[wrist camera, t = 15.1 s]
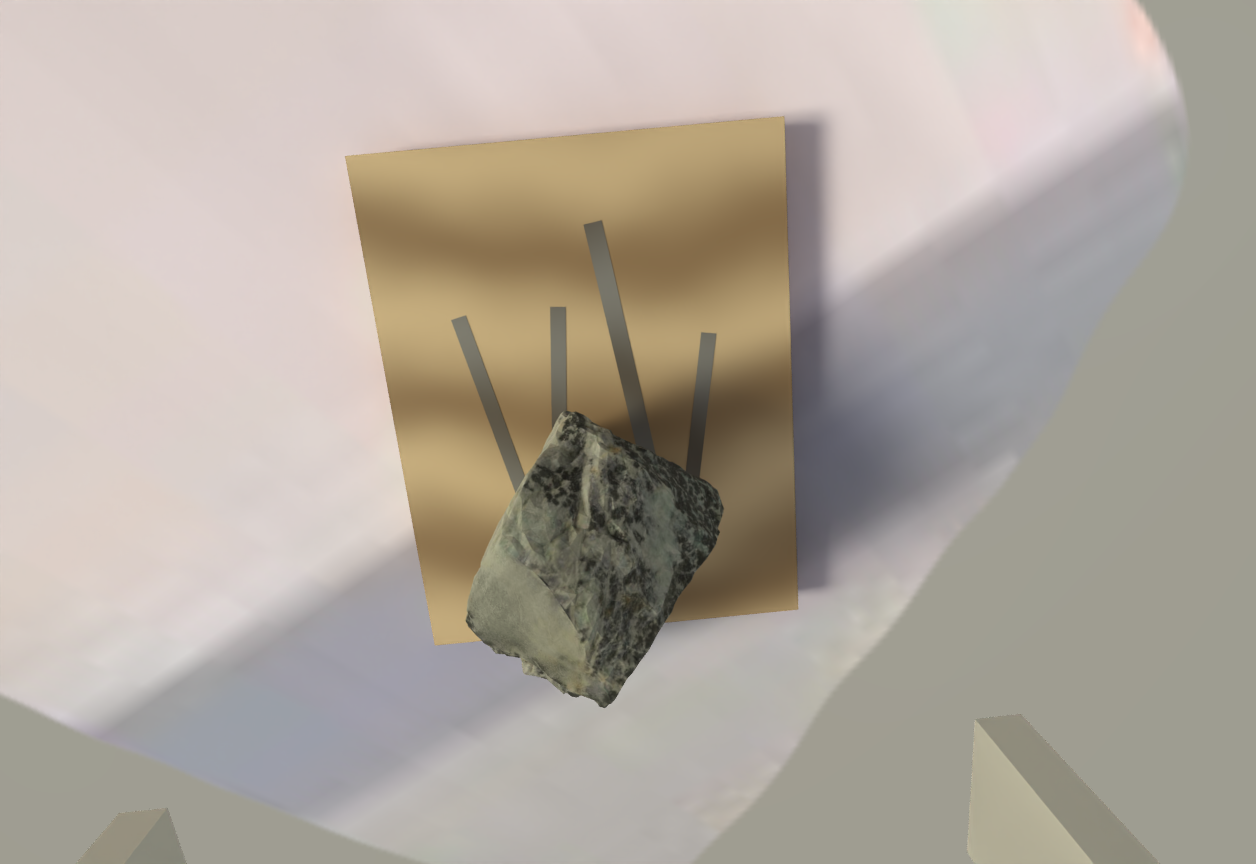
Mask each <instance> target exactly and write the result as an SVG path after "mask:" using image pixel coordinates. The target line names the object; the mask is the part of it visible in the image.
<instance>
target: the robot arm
mask: <svg viewBox="0 0 1256 864" xmlns="http://www.w3.org/2000/svg"><path fill="white" fill-rule="evenodd" d="M971 779H972V780H971V795H970V810H969V828H968V843H967V852H968V854H969V856H970V857H971V859H972V861H973V862H974V864H1160V863H1159V862H1158V861H1157V860H1156V859H1155V858H1154V857H1153V856H1152V854H1151V853H1150V852H1149V851H1148V850H1147V849H1146V848H1145V847H1144V846H1143V845H1142V844H1141V843H1140V842H1139V841H1138V839H1137V838H1136V837H1135V836H1134V835H1133V834H1132V833H1131V832H1130V831H1129V830H1128V829H1127V828H1126V826H1124V824H1123V823H1122V822H1121V821H1120V820H1119V819H1118V818H1117V817H1116V816H1115V815H1114V814H1113V813H1112V812H1111V810H1110V809H1108V807H1107V806H1106V805H1105V804H1104V803H1103V802H1102V801H1101V800H1100V799H1099V798H1098V796H1097V795H1096V794H1095V793H1094V792H1093V791H1092V790H1091V789H1090V788H1089V787H1088V786H1087V785H1086V783H1084V781H1083V780H1082V779H1081V778H1080V777H1079V776H1078V775H1077V774H1076V773H1075V772H1074V771H1073V769H1072V768H1071V767H1070V766H1069V765H1068V764H1067V763H1066V762H1065V761H1064V760H1063V759H1062V758H1061V757H1060V756H1059V754H1058V753H1057V752H1056V751H1055V750H1054V749H1053V748H1052V747H1051V746H1050V745H1049V744H1048V743H1047V742H1046V740H1045V739H1044V738H1043V737H1042V736H1041V735H1040V734H1039V733H1038V732H1037V731H1036V730H1035V729H1034V728H1033V726H1032V725H1031V724H1030V723H1029V722H1028V721H1027V720H1026V719H1025V718H1024V717H1023V716H1022V715H1021V714H1016V715H1007V716H998V717H989V718H980V719H975V730H974V746H973V763H972V778H971ZM76 864H187V863H186V861H185V858H184V855H183V852H182V849H181V846H180V843H179V840H178V837H177V834H176V831H175V828H174V825H173V822H172V819H171V817H170V814H169V811H168V808H162V809H154V810H144V811H135V812H126V813H119V814H118V815H117V816H116V818H115V819H114V820H113V821H112V822H111V823H110V824H109V826H108V827H107V828H106V829H105V830H104V831H103V832H102V834H101V835H100V836H99V837H98V838H97V839H96V841H95V842H94V843H93V844H92V845H91V847H90V848H89V849H88V850H87V851H86V852H85V854H84V855H83V856H82V857H81V858H80V859H79V860H78V862H77V863H76Z"/></svg>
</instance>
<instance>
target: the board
mask: <svg viewBox="0 0 1256 864" xmlns="http://www.w3.org/2000/svg"><path fill="white" fill-rule="evenodd" d="M345 159H346V164H347V170H348V175H349V180H350V186H351V191H352V197H353V202H354V208H355V213H356V218H357V224H358V229H359V235H360V240H361V246H362V251H363V257H364V262H365V267H366V273H367V278H368V284H369V289H370V295H371V300H372V305H373V311H374V316H375V322H376V327H377V333H378V338H379V344H380V349H381V354H382V360H383V365H384V371H385V376H386V382H387V387H388V393H389V398H390V403H391V409H392V414H393V420H394V425H395V431H396V436H397V441H398V447H399V452H400V458H401V463H402V469H403V474H404V480H405V485H406V490H407V496H408V501H409V507H410V512H411V518H412V523H413V528H414V534H415V539H416V545H417V550H418V556H419V561H420V567H421V572H422V577H423V583H424V588H425V594H426V599H427V605H428V610H429V616H430V621H431V626H432V632H433V637H434V643H435V645H444V644H454V643H464V642H474V641H482V640H481V639H479V638H478V637H477V636H476V635H475V633H474V632H473V631H472V630H471V629H470V628H469V627H468V624H467V623H466V616H467V603H468V598H469V594H470V591H471V587H472V583H473V580H474V576H475V575H476V573H477V572H478V570H479V568H480V567H481V561H482V558H483V556H484V553H485V551H486V549H487V546H488V544H489V542H490V540H491V538H492V536H493V534H494V531H495V529H496V527H497V525H498V523H499V521H500V520H501V518H502V516H503V514H504V513H505V511H506V509H507V507H508V506H509V503H510V501H511V499H512V498H513V496H514V495H515V493H516V491H517V489H518V488H519V486H520V484H521V483H522V481H523V479H524V477H525V475H526V474H527V473H528V472H529V470H530V469H531V468H532V467H533V465H534V464H535V462H536V460H537V459H538V457H539V455H540V454H541V452H542V449H543V447H544V445H545V442H546V440H547V438H548V437H549V435H550V433H551V432H552V429H553V427H554V425H555V423H556V421H557V419H558V418H559V416H560V414H561V413H562V412H564V411H570V412H575V411H576V412H578V413H581V414H583V415H585V416H586V417H588V418H589V419H590V420H591V421H592V422H594V423H596V424H597V425H599V426H601V427H603V428H606V429H609V430H611V431H612V433H613V434H614V435H615V436H618V437H620V438H622V439H624V440H626V441H628V442H630V443H633V444H635V445H639V446H642V447H644V448H646V449H648V450H650V451H652V452H653V453H654V454H656V455H657V456H660V457H663V458H665V459H666V460H668V461H670V462H674V463H675V464H677V465H679V466H680V467H681V468H683V469H684V470H685V471H686V472H687V473H688V474H691V475H694V476H697V477H699V478H701V479H704V480H706V481H707V482H709V483H710V484H711V485H712V487H714V488H715V489H717V490H718V493H719V496H720V499H721V502H722V505H723V507H724V510H723V514H722V515H723V516H722V518H721V521H720V524H719V526H718V530H719V531H720V533H719V536H718V538H717V542H716V545H715V547H714V548H713V550H712V552H711V553H710V555H709V556H708V558H707V559H706V560H705V561H704V563H703V564H702V565H701V566H700V567H699V568H698V569H697V571H696V572H695V573H694V576H693V578H692V580H691V582H690V583H689V584H688V585H687V587H686V588H685V589H684V590H683V591H682V593H681V594H680V596H679V597H678V599H677V601H676V603H675V605H674V608H673V611H672V613H671V614H670V616H669V617H668V618H667V620H666V621H665V623H666V622H676V621H686V620H696V619H706V618H717V617H727V616H737V615H747V614H757V613H767V612H777V611H787V610H797V609H798V585H797V549H796V514H795V478H794V443H793V407H792V372H791V336H790V301H789V265H788V230H787V194H786V159H785V123H784V116H782V117H771V118H760V119H749V120H738V121H727V122H716V123H705V124H694V125H683V126H672V127H661V128H650V129H639V130H628V131H617V132H606V133H595V134H584V135H573V136H562V137H551V138H540V139H528V140H517V141H506V142H495V143H484V144H473V145H462V146H451V147H440V148H429V149H418V150H407V151H396V152H385V153H374V154H363V155H352V156H345Z"/></svg>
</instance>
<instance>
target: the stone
mask: <svg viewBox="0 0 1256 864" xmlns="http://www.w3.org/2000/svg"><path fill="white" fill-rule="evenodd" d="M723 510H724V507H723V505H722V502H721V499H720V496H719V493H718V490H717V489H715V488H714V487H712V485H711V484H710V483H709V482H707V481H706V480H704V479H701V478H699V477H697V476H694V475H691V474H688V473H687V472H686V471H685V470H684V469H683V468H681V467H680V466H679V465H677V464H675V463H674V462H670V461H668V460H666V459H665V458H663V457H660V456H657V455H656V454H654V453H653V452H652V451H650V450H648V449H646V448H644V447H642V446H639V445H635V444H633V443H630V442H628V441H626V440H624V439H622V438H620V437H618V436H615V435H614V434H613V433H612V431H611V430H609V429H606V428H603V427H601V426H599V425H597V424H596V423H594V422H592V421H591V420H590V419H589V418H588V417H586V416H585V415H583V414H581V413H578V412H576V411H575V412H570V411H564V412H562V413H561V414H560V416H559V418H558V419H557V421H556V423H555V425H554V427H553V429H552V432H551V433H550V435H549V437H548V438H547V440H546V442H545V445H544V447H543V449H542V452H541V454H540V455H539V457H538V459H537V460H536V462H535V464H534V465H533V467H532V468H531V469H530V470H529V472H528V473H527V474H526V475H525V477H524V479H523V481H522V483H521V484H520V486H519V488H518V489H517V491H516V493H515V495H514V496H513V498H512V499H511V501H510V503H509V506H508V507H507V509H506V511H505V513H504V514H503V516H502V518H501V520H500V521H499V523H498V525H497V527H496V529H495V531H494V534H493V536H492V538H491V540H490V542H489V544H488V546H487V549H486V551H485V553H484V556H483V558H482V561H481V567H480V568H479V570H478V572H477V573H476V575H475V576H474V580H473V583H472V587H471V591H470V594H469V598H468V603H467V616H466V623H467V624H468V627H469V628H470V629H471V630H472V631H473V632H474V633H475V635H476V636H477V637H478V638H479V639H481V640H482V641H483V643H485V644H486V645H488V646H490V647H491V648H492V650H493V651H494V652H495V653H496V654H505V655H506V656H513V657H518V658H521V661H522V668H523V672H524V674H526V675H532V676H537V677H541V678H545V679H547V680H548V681H549V682H551V683H552V684H553V685H554V686H555V687H556V688H558V689H559V690H560V691H561V692H562V693H563V694H564V693H565V692H566V693H568V694H569V695H570V696H572V697H579V696H581V695H582V696H584V697H587V698H590V699H593V700H595V701H596V702H597V704H598V705H599V706H600V707H603V708H606V707H607V706H608V705H609V704H611V703H612V702H613V701H614V700H615V699H616V697H617V695H618V693H619V691H620V690H621V688H622V686H623V685H624V683H625V681H626V680H627V678H628V677H629V676H630V675H631V674H632V673H633V671H634V670H635V668H636V667H637V665H638V664H639V662H640V661H641V659H642V658H643V657H644V655H645V654H646V653H647V652H648V650H649V649H650V647H651V645H652V643H653V641H654V639H655V637H656V635H657V634H658V632H659V630H660V629H661V627H662V626H663V624H664V623H665V621H666V620H667V618H668V617H669V616H670V614H671V613H672V611H673V608H674V605H675V603H676V601H677V599H678V597H679V596H680V594H681V593H682V591H683V590H684V589H685V588H686V587H687V585H688V584H689V583H690V582H691V580H692V578H693V576H694V573H695V572H696V571H697V569H698V568H699V567H700V566H701V565H702V564H703V563H704V561H705V560H706V559H707V558H708V556H709V555H710V553H711V552H712V550H713V548H714V547H715V545H716V542H717V538H718V536H719V533H720V531H719V530H718V526H719V524H720V521H721V518H722V516H723V515H722V514H723Z"/></svg>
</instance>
